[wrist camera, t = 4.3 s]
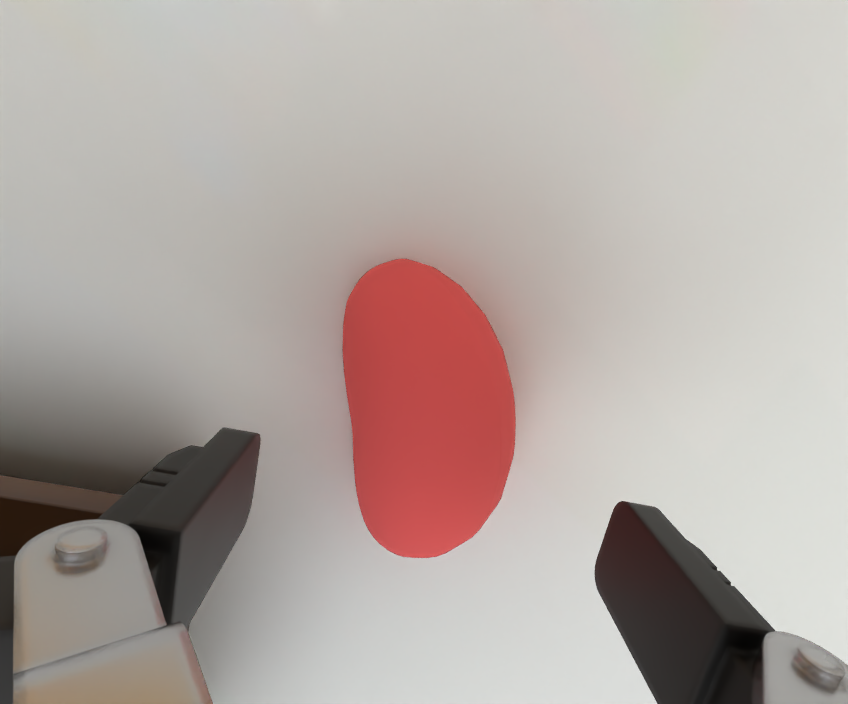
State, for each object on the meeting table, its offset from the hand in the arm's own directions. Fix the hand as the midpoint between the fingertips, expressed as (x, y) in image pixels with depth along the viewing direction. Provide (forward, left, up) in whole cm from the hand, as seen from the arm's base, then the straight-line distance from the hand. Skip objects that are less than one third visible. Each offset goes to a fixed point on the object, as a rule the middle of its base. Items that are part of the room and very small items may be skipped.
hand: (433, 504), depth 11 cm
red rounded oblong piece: (0, 0, -7) cm, 7 cm away
